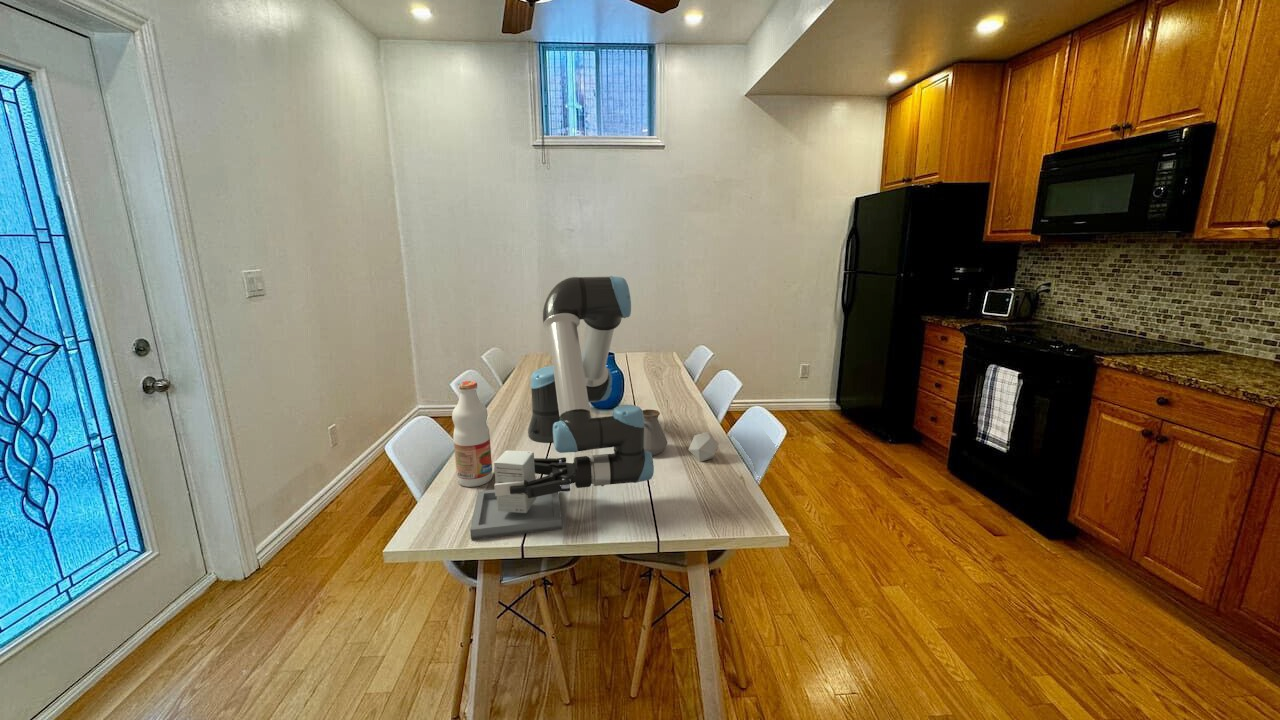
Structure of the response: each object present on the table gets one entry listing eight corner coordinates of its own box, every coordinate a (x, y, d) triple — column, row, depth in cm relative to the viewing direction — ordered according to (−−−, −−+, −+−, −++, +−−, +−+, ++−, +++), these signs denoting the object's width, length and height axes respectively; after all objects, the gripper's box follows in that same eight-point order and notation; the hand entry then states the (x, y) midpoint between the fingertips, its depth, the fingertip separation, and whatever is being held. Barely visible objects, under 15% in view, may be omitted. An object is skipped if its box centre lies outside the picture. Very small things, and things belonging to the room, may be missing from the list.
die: (706, 452, 158) (688, 430, 156) (727, 445, 153) (709, 422, 151) (697, 470, 152) (679, 447, 150) (719, 464, 147) (700, 440, 145)
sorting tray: (478, 500, 127) (478, 491, 127) (557, 492, 132) (557, 483, 131) (471, 539, 110) (470, 529, 110) (561, 529, 114) (561, 519, 114)
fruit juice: (458, 474, 142) (450, 379, 135) (492, 470, 144) (486, 377, 138) (456, 489, 133) (446, 389, 126) (492, 485, 135) (485, 386, 129)
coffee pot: (640, 441, 165) (641, 398, 162) (672, 447, 160) (673, 403, 157) (609, 466, 147) (608, 418, 143) (644, 474, 142) (645, 425, 138)
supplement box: (508, 496, 125) (505, 449, 122) (537, 498, 124) (534, 451, 121) (496, 511, 117) (492, 462, 114) (526, 514, 116) (523, 464, 113)
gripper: (596, 507, 113) (494, 518, 108) (586, 466, 134) (499, 474, 129) (596, 476, 111) (491, 487, 107) (585, 440, 132) (497, 447, 127)
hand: (496, 480), depth 118 cm, fingers closed on supplement box, 9 cm apart
